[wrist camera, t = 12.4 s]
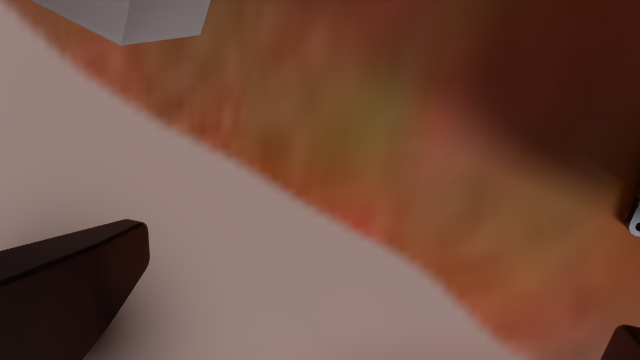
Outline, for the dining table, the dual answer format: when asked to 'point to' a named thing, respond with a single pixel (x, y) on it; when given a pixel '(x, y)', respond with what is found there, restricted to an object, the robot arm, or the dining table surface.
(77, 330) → the robot arm
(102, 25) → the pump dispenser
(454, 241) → the dining table surface
